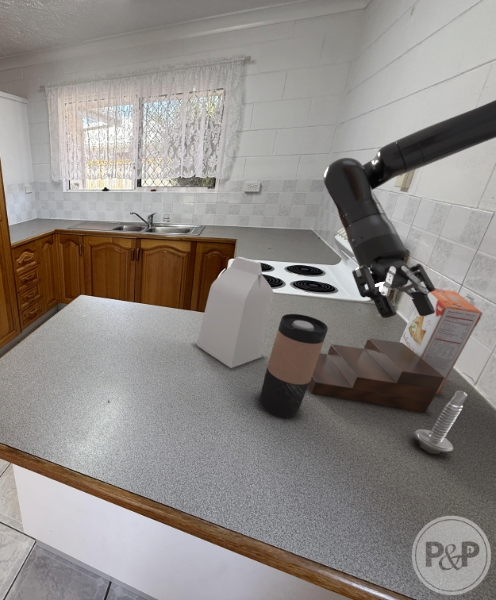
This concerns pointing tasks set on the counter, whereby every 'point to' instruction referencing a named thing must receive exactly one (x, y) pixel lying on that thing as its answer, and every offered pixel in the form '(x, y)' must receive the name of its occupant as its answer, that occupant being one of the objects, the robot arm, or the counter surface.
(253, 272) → the milk
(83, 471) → the counter surface
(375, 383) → the shelf stand
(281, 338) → the travel mug
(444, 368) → the cracker box
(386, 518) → the counter surface
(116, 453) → the counter surface
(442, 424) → the screw
